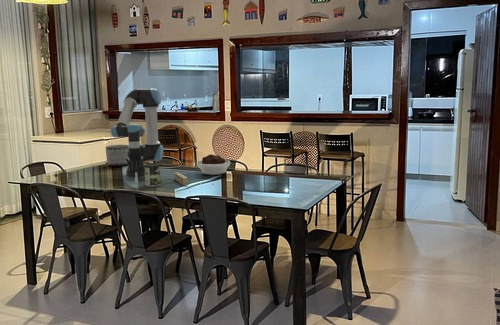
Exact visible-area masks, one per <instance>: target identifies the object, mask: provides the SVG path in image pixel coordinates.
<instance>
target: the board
mask: <svg viewBox="0 0 500 325" xmlns="http://www.w3.org/2000/svg"><path fill="white" fill-rule="evenodd" d="M174 180H175V181H176V182H177V183H179V184H181V185H182V186H188V185H189V181H188V180H189V178H188V176H185V175H183V174H182V173H180V172H178V171H177V172H174Z"/></svg>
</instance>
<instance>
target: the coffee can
mask: <svg viewBox="0 0 500 325" xmlns="http://www.w3.org/2000/svg"><path fill="white" fill-rule="evenodd" d="M144 168H145V175H144V181H145V183H144V184H145V185H144V186H145V187H151V188H153V187H159V186H161V172H160V170H161V169H160V168H161V167H160V163H147V164H144Z"/></svg>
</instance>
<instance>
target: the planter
mask: <svg viewBox="0 0 500 325" xmlns="http://www.w3.org/2000/svg"><path fill="white" fill-rule="evenodd" d="M128 146H129V144H111V145H106V146H105V154H106V155H105V156H106V157H105V158H106V164H107V165H108V166H112V167H124V166H126V165H128V163H127V161H126V160H125V159H126V158H128V155H127V147H128Z"/></svg>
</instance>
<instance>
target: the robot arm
mask: <svg viewBox="0 0 500 325" xmlns="http://www.w3.org/2000/svg"><path fill="white" fill-rule="evenodd" d="M161 103H162V96H161V94H160V91H159V89H157V88H152V87H151V88H135V89H133V90H131V91H130V92H129V93H128V94H127V95H126V96H125V97H124V100H123V107H122V110H121V112H120V115H119V118H118V120H117V123H116V125H113V126H111V128H110V135H111V137H113V138H128V140H127V141H128V145H129V146H128V147H127V155H128V158H126V159H125V160H126V161H127V163H128V164H127V168H126V171H125V174H126V176H127V177H132V178H134V183H136V184H137V183H139V182H138V181H139V179H138V178H140V177H141V176H145V168H144V165H145V164H144V163H145V162H159V161H161V160H162V159H163V157H164V156H163V155H164V145H162V144H161V142H160V141H159V130H158V128H159V126H158V108H159V105H161ZM138 105H142V108H143V110H144V112H145V113H144V114H145V115H144V116H145V127H144V126H143V125H139V124H137V123H130V122H131V119H132V115H133V114H134V113H133V112H134V110H135V108H137V106H138ZM144 135H146V142H145V143H144V144H143V143H141V138H142V137H143V136H144Z"/></svg>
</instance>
